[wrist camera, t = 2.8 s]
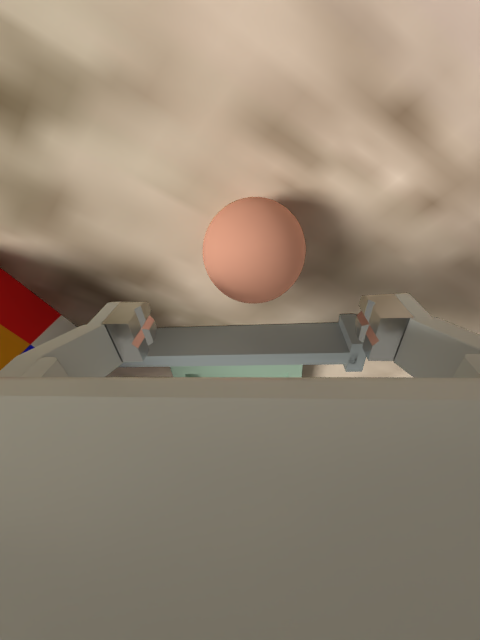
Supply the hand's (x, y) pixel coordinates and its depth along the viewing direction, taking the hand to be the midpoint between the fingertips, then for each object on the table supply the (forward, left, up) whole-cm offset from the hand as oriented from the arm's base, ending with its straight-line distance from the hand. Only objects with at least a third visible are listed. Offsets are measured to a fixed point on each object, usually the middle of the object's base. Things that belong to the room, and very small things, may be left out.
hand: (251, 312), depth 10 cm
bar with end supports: (+6, -3, -6) cm, 9 cm away
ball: (-1, 0, -4) cm, 4 cm away
